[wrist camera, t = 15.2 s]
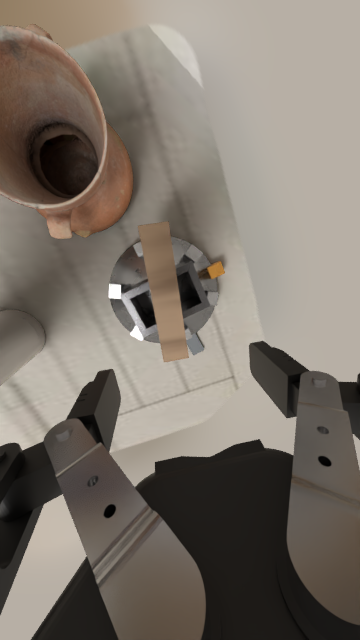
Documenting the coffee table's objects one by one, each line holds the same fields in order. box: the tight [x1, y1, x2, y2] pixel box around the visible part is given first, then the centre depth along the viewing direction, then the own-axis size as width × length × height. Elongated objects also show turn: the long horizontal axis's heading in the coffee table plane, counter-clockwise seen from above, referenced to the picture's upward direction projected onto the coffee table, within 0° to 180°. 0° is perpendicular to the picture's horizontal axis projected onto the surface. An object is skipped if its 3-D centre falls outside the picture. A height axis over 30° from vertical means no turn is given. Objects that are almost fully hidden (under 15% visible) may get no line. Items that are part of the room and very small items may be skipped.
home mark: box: [186, 333, 204, 355], centre depth 40 cm, size 2×4×1 cm, turn 28°
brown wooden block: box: [138, 221, 189, 362], centre depth 26 cm, size 7×3×15 cm
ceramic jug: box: [0, 24, 133, 239], centre depth 24 cm, size 18×14×14 cm
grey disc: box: [109, 237, 225, 343], centre depth 33 cm, size 19×18×7 cm
